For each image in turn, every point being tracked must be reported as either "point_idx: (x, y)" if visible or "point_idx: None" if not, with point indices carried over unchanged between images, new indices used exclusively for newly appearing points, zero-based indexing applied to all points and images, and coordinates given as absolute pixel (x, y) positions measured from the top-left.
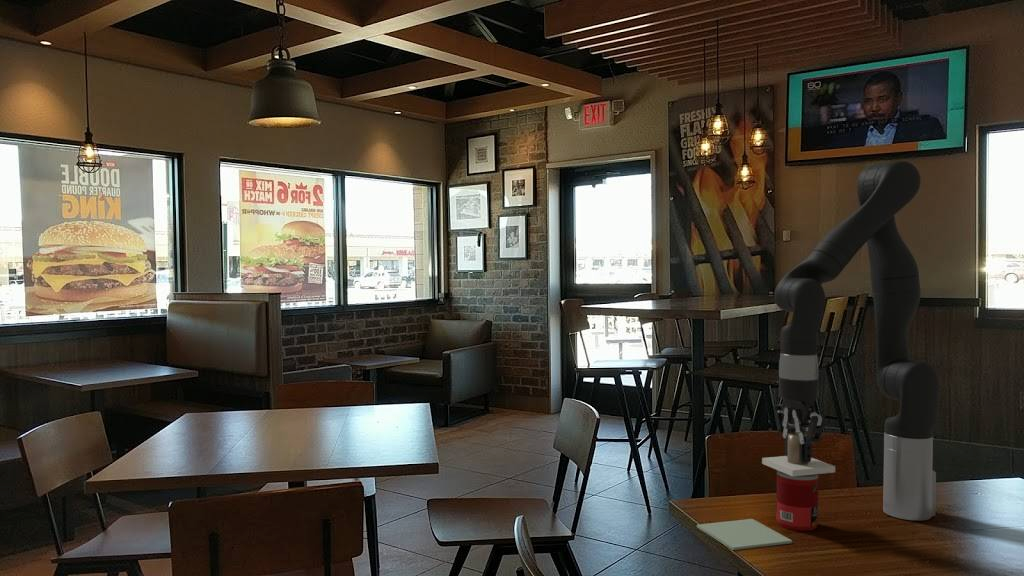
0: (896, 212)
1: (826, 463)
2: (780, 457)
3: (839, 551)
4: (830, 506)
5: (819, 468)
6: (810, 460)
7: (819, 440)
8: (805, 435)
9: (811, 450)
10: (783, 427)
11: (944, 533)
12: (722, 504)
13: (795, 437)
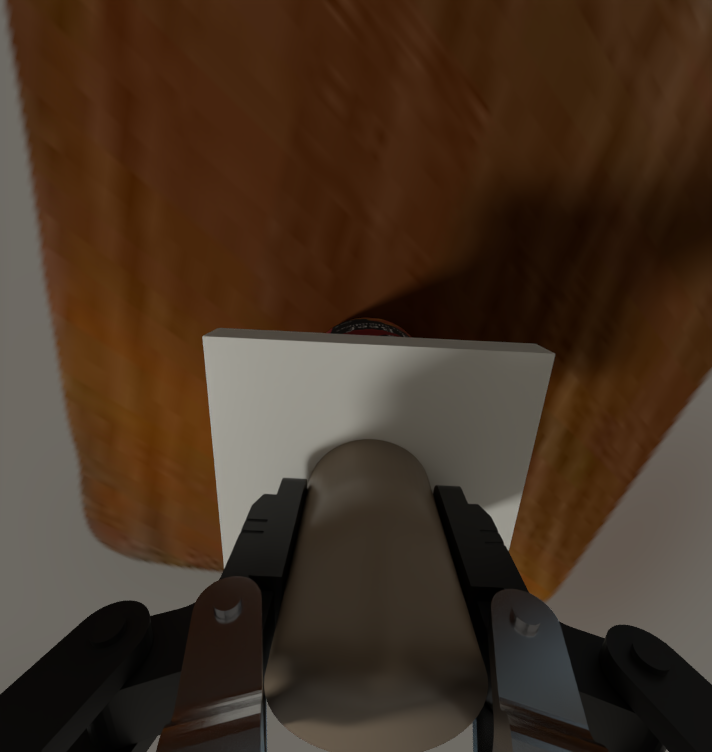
0: None
1: (471, 355)
2: (242, 514)
3: (571, 405)
4: (230, 104)
5: (527, 466)
6: (460, 489)
7: (677, 658)
8: (429, 650)
9: (510, 559)
10: (103, 732)
11: None
12: (142, 456)
13: (431, 737)
